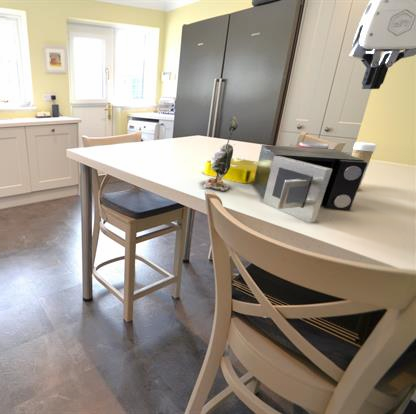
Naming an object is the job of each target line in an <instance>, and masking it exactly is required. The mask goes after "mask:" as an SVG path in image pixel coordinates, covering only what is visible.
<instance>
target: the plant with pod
mask: <svg viewBox="0 0 416 414" xmlns="http://www.w3.org/2000/svg"><path fill="white" fill-rule="evenodd" d="M238 126H239V123H238V119H237V118H236V116H234V115H233V116H231V117H230V118H229V124H228V131H229V137H228V140H227V143H225V144H223V145H221V146H220V147H219V148H218V149H217V150H216V151H215V152H214V153H213V155H212V157H211V159H210V160H211V166H212V169H213V171H214V172H216V173H217V175H216V177H215V178H214V177H209V178H208V179H207V180H204V181H203V182H201V185H203V186H202V187H203V189H206V188H212V189H215V190H219V191H220V192H224V191H227V190H228V189H230V185H228V184H227V183H225V182H224V181H223V178H222V177H223V176H224V175H225V174H226V173H227V172H228V170H229V168H230V163H231V158H232V157H233V154H234V147H233V146H235V144H234V143H233V145H232V144H230V140H231V136H232V134H233V132H234V131H236V130H237V128H238Z"/></svg>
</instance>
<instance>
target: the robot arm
mask: <svg viewBox="0 0 416 414" xmlns="http://www.w3.org/2000/svg"><path fill="white" fill-rule="evenodd" d="M382 53H383V54H382ZM414 56H416V0H369V2H368V3H367V6H366V8H365V10H364V12H363V14H362V16H361V19H360V21H359V24H358V27H357V29H356V32H355V35H354V38H353V42H352V50H351V51H350V53H349V58H352V59H356V60H360V61H361V63H362V64H363V65H364V67H363V68H365V72H364V75H363V78H362V81H361V85H362V87H361V89H362V90H379V89H380V88H381V86H382V85H383V84H384V82H385V79H386V76H387V74H388V71H389V68H392V66H393V65H394V64H395V63H397V62H399V61H400V60H402V59H406V58H411V57H414Z"/></svg>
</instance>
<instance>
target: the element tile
mask: <svg viewBox="0 0 416 414" xmlns="http://www.w3.org/2000/svg"><path fill="white" fill-rule="evenodd" d="M211 160H212V159H210V160H207V161H205V165H204V172H203V174H204V175H207V176H210V177H213V178H214V177H215V178H216V175H217V173H216V172H214V171H213V169H212V166H211ZM257 165H258V161H254V160H250V159H245V158H244V159H243V158H238V157H235V156H232V158H231V163H230V168H229V170H228V172H227V173H226V174H225V175H224V176H223V177H222V180H223V179H224V180H227V181H232V182H235V183H241V184H250V183H253V182H254V178H255V174H256V169H257Z"/></svg>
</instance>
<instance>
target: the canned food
mask: <svg viewBox="0 0 416 414" xmlns="http://www.w3.org/2000/svg"><path fill="white" fill-rule="evenodd" d="M298 147H304V148H322V149H329V147H330V146H329V144H327V143H323V142H317V141H301V142H299V145H298Z"/></svg>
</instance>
